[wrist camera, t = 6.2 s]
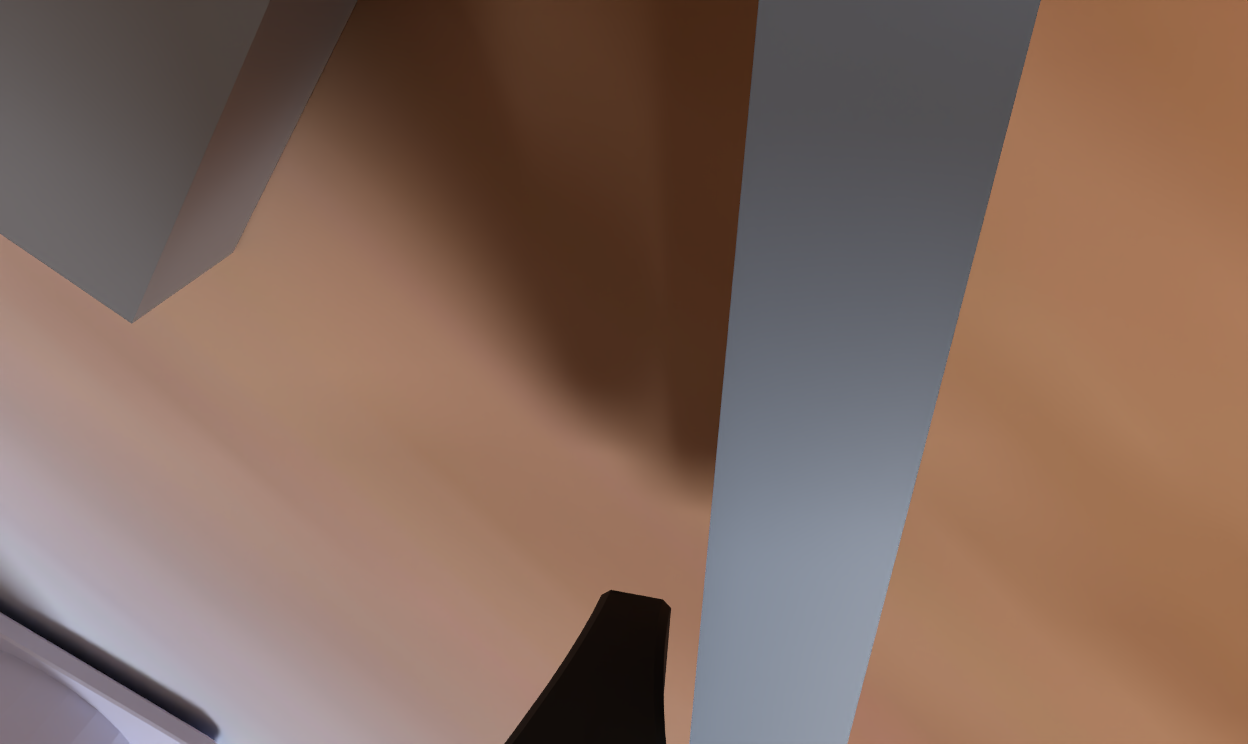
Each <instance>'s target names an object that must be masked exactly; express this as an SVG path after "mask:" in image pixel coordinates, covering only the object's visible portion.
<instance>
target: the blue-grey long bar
mask: <svg viewBox="0 0 1248 744" xmlns="http://www.w3.org/2000/svg"><path fill="white" fill-rule="evenodd" d="M1040 1H1041V0H759V5H758V16H757V26H756V37H755V48H754V58H753V69H752V80H751V91H750V101H749V112H748V123H747V133H746V144H745V155H744V165H743V176H742V187H741V198H740V208H739V219H738V230H737V240H736V251H735V262H734V273H733V283H732V294H731V305H730V315H729V326H728V337H727V348H726V358H725V369H724V380H723V390H722V401H721V412H720V423H719V433H718V444H717V455H716V465H715V476H714V487H713V497H712V508H711V519H710V530H709V540H708V551H707V562H706V572H705V583H704V594H703V605H702V615H701V626H700V637H699V647H698V658H697V669H696V680H695V690H694V701H693V712H692V722H691V733H690V744H847V742H848V739H849V735H850V731H851V727H852V723H853V719H854V716H855V712H856V708H857V704H858V700H859V696H860V692H861V689H862V685H863V681H864V677H865V673H866V669H867V666H868V662H869V658H870V654H871V650H872V646H873V643H874V639H875V635H876V631H877V627H878V623H879V619H880V616H881V612H882V608H883V604H884V600H885V596H886V593H887V589H888V585H889V581H890V577H891V573H892V570H893V566H894V562H895V558H896V554H897V550H898V546H899V543H900V539H901V535H902V531H903V527H904V523H905V520H906V516H907V512H908V508H909V504H910V500H911V496H912V493H913V489H914V485H915V481H916V477H917V473H918V470H919V466H920V462H921V458H922V454H923V450H924V447H925V443H926V439H927V435H928V431H929V427H930V423H931V420H932V416H933V412H934V408H935V404H936V400H937V397H938V393H939V389H940V385H941V381H942V377H943V374H944V370H945V366H946V362H947V358H948V354H949V350H950V347H951V343H952V339H953V335H954V331H955V327H956V324H957V320H958V316H959V312H960V308H961V304H962V301H963V297H964V293H965V289H966V285H967V281H968V277H969V274H970V270H971V266H972V262H973V258H974V254H975V251H976V247H977V243H978V239H979V235H980V231H981V227H982V224H983V220H984V216H985V212H986V208H987V204H988V201H989V197H990V193H991V189H992V185H993V181H994V178H995V174H996V170H997V166H998V162H999V158H1000V154H1001V151H1002V147H1003V143H1004V139H1005V135H1006V131H1007V128H1008V124H1009V120H1010V116H1011V112H1012V108H1013V105H1014V101H1015V97H1016V93H1017V89H1018V85H1019V81H1020V78H1021V74H1022V70H1023V66H1024V62H1025V58H1026V55H1027V51H1028V47H1029V43H1030V39H1031V35H1032V32H1033V28H1034V24H1035V20H1036V16H1037V12H1038V8H1039V5H1040Z"/></svg>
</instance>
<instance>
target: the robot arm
mask: <svg viewBox="0 0 1248 744" xmlns="http://www.w3.org/2000/svg"><path fill="white" fill-rule="evenodd" d="M670 615H671V608H670V607H669V606H668V604H667V603H666V602H665V601H664V600H663V599H657V598H652V597H646V596H641V595H635V594H630V593H625V592H619V591H614V590H610V591H608V592H606V593H604V594H602V595H601V597H600V599H599V601H598V603H597V605H596V607H595V609H594V611H593V613H592V614H591V616H590V618H589V620H588V622H587V623H586V625H585V627H584V628H583V630H582V632H581V634H580V635H579V637H578V639H577V640H576V642H575V643H574V645H573V647H572V648H571V650H570V651H569V653H568V655H567V656H566V658H565V659H564V661H563V662H562V664H561V665H560V667H559V668H558V670H557V671H556V673H555V674H554V676H553V677H552V679H551V680H550V682H549V683H548V685H547V686H546V687H545V689H544V690H543V692H542V693H541V694H540V696H539V697H538V699H537V700H536V701H535V703H534V704H533V705H532V707H531V708H530V710H529V711H528V712H527V714H526V715H525V716H524V718H523V719H522V721H521V722H520V723H519V725H518V726H517V728H516V729H515V730H514V732H513V733H512V734H511V736H510V737H509V738H508V740H507V741H506V742H505V744H666V737H665V721H664V685H665V673H666V662H667V650H668V638H669V626H670ZM0 744H217V743H216V742H215V741H214V740H213V739H211V738H210V737H209V736H207V735H205V734H204V733H202V732H200V731H199V730H197V729H195V728H194V727H192V726H190V725H189V724H187V723H185V722H184V721H182V720H180V719H179V718H177V717H175V716H174V715H172V714H170V713H169V712H167V711H165V710H163V709H162V708H160V707H158V706H157V705H155V704H153V703H152V702H150V701H148V700H147V699H145V698H143V697H142V696H140V695H138V694H137V693H135V692H133V691H132V690H130V689H128V688H127V687H125V686H123V685H122V684H120V683H118V682H116V681H115V680H113V679H111V678H110V677H108V676H106V675H105V674H103V673H101V672H100V671H98V670H96V669H95V668H93V667H91V666H90V665H88V664H86V663H85V662H83V661H81V660H80V659H78V658H76V657H75V656H73V655H71V654H70V653H68V652H66V651H64V650H63V649H61V648H59V647H58V646H56V645H54V644H53V643H51V642H49V641H48V640H46V639H44V638H43V637H41V636H39V635H38V634H36V633H34V632H33V631H31V630H29V629H28V628H26V627H24V626H23V625H21V624H19V623H18V622H16V621H14V620H12V619H11V618H9V617H7V616H6V615H4V614H2V613H1V612H0Z"/></svg>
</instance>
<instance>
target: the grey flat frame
mask: <svg viewBox="0 0 1248 744" xmlns="http://www.w3.org/2000/svg"><path fill="white" fill-rule="evenodd" d="M356 2H357V0H0V234H1V235H3V236H4V237H6V238H7V239H9V240H10V241H12V242H13V243H15V244H16V245H18V246H19V247H21V248H22V249H23V250H25V251H26V252H28V253H29V254H31V255H32V256H34V257H35V258H37V259H38V260H40V261H41V262H42V263H44V264H45V265H47V266H48V267H50V268H51V269H53V270H54V271H56V272H57V273H59V274H60V275H61V276H63V277H64V278H66V279H67V280H69V281H70V282H72V283H73V284H75V285H76V286H78V287H79V288H81V289H82V290H83V291H85V292H86V293H88V294H89V295H91V296H92V297H94V298H95V299H97V300H98V301H100V302H101V303H102V304H104V305H105V306H107V307H108V308H110V309H111V310H113V311H114V312H116V313H117V314H119V315H120V316H122V317H123V318H124V319H126V320H127V321H129V322H130V323H133V322H135V321H136V320H138V319H139V318H140V317H142V316H143V315H145V314H146V313H148V312H149V311H150V310H152V309H153V308H155V307H156V306H157V305H159V304H160V303H162V302H163V301H165V300H166V299H167V298H169V297H170V296H172V295H173V294H175V293H176V292H177V291H179V290H180V289H182V288H183V287H185V286H186V285H187V284H189V283H190V282H192V281H193V280H194V279H196V278H197V277H199V276H200V275H202V274H203V273H204V272H206V271H207V270H209V269H210V268H212V267H213V266H214V265H216V264H217V263H219V262H220V261H222V260H223V259H224V258H226V257H227V256H229V255H230V254H231V253H233V251H234V249H235V247H236V245H237V243H238V241H239V239H240V237H241V235H242V233H243V231H244V229H245V227H246V225H247V223H248V221H249V219H250V217H251V215H252V213H253V211H254V209H255V207H256V205H257V203H258V201H259V199H260V197H261V195H262V193H263V191H264V189H265V187H266V185H267V183H268V181H269V179H270V177H271V174H272V172H273V170H274V168H275V166H276V164H277V162H278V160H279V158H280V156H281V154H282V152H283V150H284V148H285V146H286V144H287V142H288V140H289V138H290V136H291V134H292V132H293V130H294V128H295V126H296V124H297V122H298V120H299V118H300V116H301V114H302V112H303V110H304V108H305V106H306V104H307V102H308V100H309V98H310V96H311V94H312V91H313V89H314V87H315V85H316V83H317V81H318V79H319V77H320V75H321V73H322V71H323V69H324V67H325V65H326V63H327V61H328V59H329V57H330V55H331V53H332V51H333V49H334V47H335V45H336V43H337V41H338V39H339V37H340V35H341V33H342V31H343V29H344V27H345V25H346V23H347V21H348V19H349V17H350V15H351V13H352V11H353V9H354V6H355V4H356Z"/></svg>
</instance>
